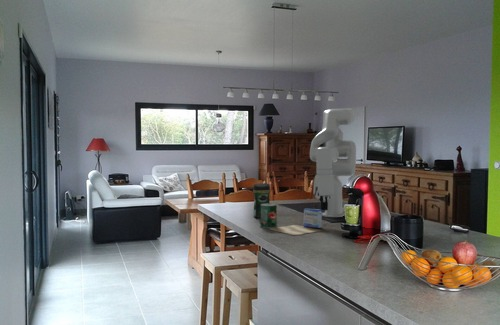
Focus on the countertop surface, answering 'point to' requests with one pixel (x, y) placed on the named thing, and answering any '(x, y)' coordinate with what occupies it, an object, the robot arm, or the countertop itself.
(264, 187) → the coffee jar
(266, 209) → the canned tomato
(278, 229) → the wooden board
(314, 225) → the medicine box
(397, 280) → the countertop surface
